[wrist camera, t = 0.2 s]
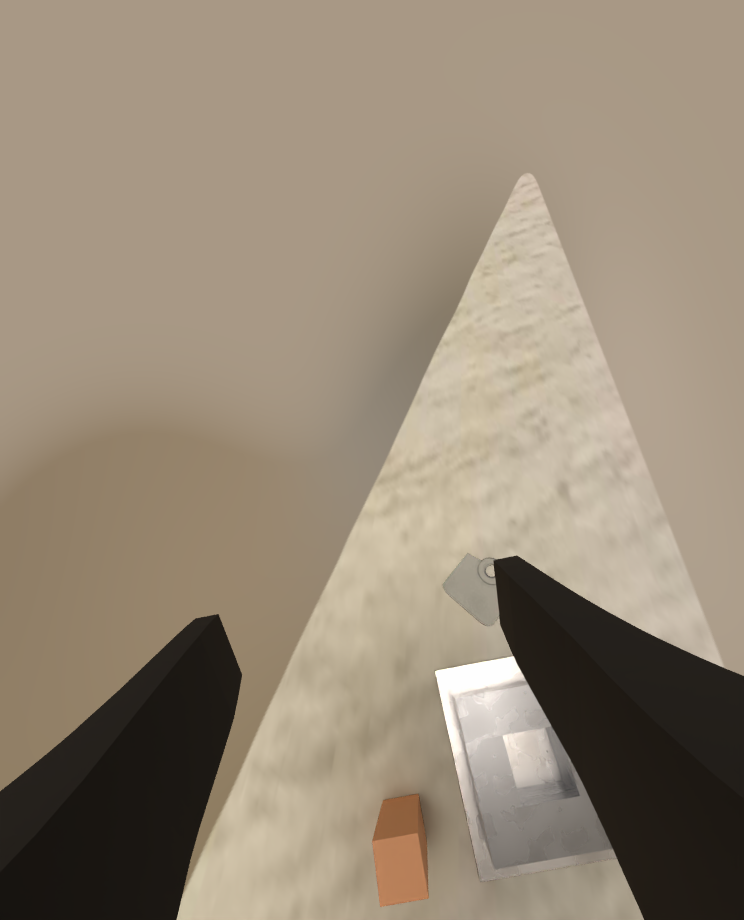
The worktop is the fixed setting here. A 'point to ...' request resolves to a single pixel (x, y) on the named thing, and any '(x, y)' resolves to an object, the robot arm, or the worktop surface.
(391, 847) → the tan rectangular block
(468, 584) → the mounting bracket
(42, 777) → the robot arm
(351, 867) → the worktop surface
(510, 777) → the slotted block
